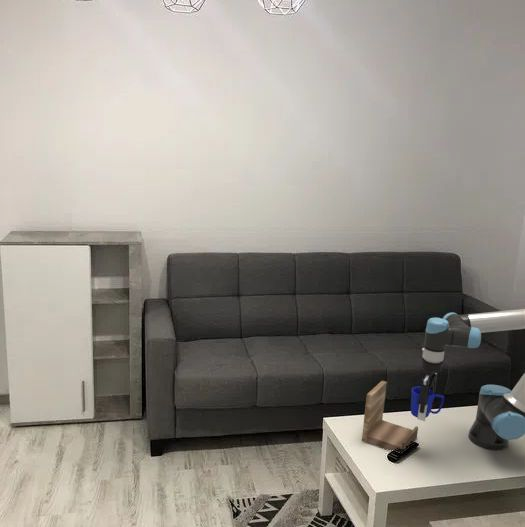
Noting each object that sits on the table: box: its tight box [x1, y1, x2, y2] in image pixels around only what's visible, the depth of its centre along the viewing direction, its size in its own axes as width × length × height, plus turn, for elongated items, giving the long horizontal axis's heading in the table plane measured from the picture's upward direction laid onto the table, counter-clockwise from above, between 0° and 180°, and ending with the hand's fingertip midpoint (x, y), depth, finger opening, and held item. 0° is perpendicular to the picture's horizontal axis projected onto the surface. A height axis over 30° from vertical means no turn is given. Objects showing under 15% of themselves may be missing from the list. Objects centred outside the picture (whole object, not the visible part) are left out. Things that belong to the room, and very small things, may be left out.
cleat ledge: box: [365, 419, 419, 452], centre depth 242 cm, size 15×16×5 cm
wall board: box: [361, 380, 388, 443], centre depth 245 cm, size 2×16×20 cm, turn 148°
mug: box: [410, 385, 445, 419], centre depth 231 cm, size 8×12×10 cm
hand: (424, 415), depth 232 cm, fingers closed on mug, 7 cm apart
